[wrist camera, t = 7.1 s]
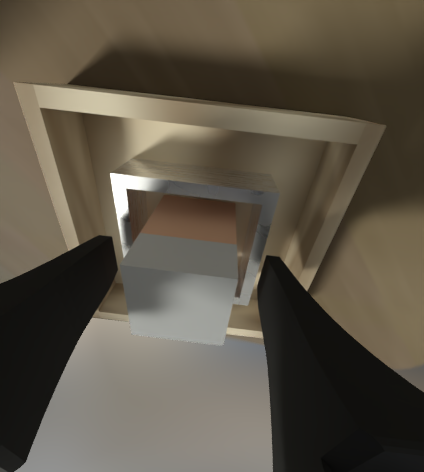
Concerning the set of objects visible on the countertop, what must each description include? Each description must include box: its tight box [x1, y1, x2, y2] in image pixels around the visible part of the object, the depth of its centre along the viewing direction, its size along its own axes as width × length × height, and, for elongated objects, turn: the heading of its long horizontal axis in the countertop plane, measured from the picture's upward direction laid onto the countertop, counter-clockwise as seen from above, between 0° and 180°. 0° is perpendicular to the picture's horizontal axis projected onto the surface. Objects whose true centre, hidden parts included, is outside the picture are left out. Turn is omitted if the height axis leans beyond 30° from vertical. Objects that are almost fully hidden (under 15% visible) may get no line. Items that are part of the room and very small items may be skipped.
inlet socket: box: [110, 158, 280, 306], centre depth 12 cm, size 7×7×2 cm
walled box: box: [13, 82, 387, 338], centre depth 13 cm, size 13×13×3 cm
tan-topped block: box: [120, 195, 238, 346], centre depth 11 cm, size 4×4×6 cm
